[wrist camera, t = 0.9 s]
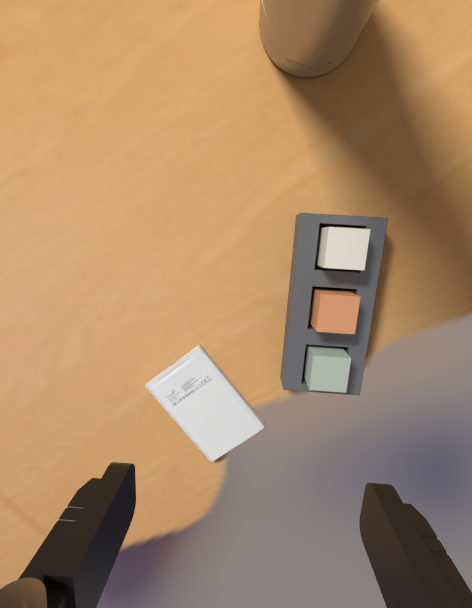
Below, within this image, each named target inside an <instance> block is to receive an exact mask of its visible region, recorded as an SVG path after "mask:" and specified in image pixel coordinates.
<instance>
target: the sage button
mask: <svg viewBox="0 0 472 608" xmlns="http://www.w3.org/2000/svg"><path fill="white" fill-rule="evenodd" d="M350 364H351V357H350V356H349V355H348V354H347V353H346V352H345V350H344V349H343V348H342V347H337V346H323V345H309V344H307V346H306V355H305V363H304V372H303V376H304V378H305V381H306V383H307V386H308V388H309V390H316V391H329V392H343V393H346V390H347V384H348V377H349V370H350Z"/></svg>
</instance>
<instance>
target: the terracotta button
mask: <svg viewBox="0 0 472 608" xmlns="http://www.w3.org/2000/svg"><path fill="white" fill-rule="evenodd" d="M359 303H360V296H358V295H356V294H354V293H352V292H350V291H348V290H332V289H317V288H313V294H312V302H311V311H310V320H309V322H310V324H311V325H312V326H313V328H314V329H315V331H316V332H328V333H343V334H355V330H356V324H357V317H358V310H359Z"/></svg>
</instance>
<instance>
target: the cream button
mask: <svg viewBox="0 0 472 608" xmlns="http://www.w3.org/2000/svg"><path fill="white" fill-rule="evenodd" d="M370 230H371V229H359V228H342V227H324V228H320V233H319V241H318V250H317V259H316V265H318V266H320V267H323V268H333V269H349V270H365V263H366V257H367V250H368V243H369V236H370Z"/></svg>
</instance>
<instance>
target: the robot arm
mask: <svg viewBox="0 0 472 608" xmlns="http://www.w3.org/2000/svg"><path fill="white" fill-rule="evenodd" d="M378 2H379V0H260V18H259V26H260V35H261V39H262V42H263V45H264V48H265V50H266V52H267V54H268V55H269V57H270V58H271V60H272V61H273V62H274V63H275V64H276V65H277V66H278V67H279V68H281V69H282V70H283V71H285V72H287V73H289V74H291V75H294V76H298V77H304V78H306V77H316V76H320V75H323V74H326V73H327V72H329V71H331V70H333V69H334V68H336V67H337V66H338V65H339V64H340V63H341V62H343V61H344V60H345V58H346V57H347V56H348V54H349V53H350V52H351V50H352V49H353V47H354V45H355V43H356V41H357V39H358V38H359V36H360V34H361V32H362V30H363V29H364V27H365V25H366V23H367V21H368V20H369V18H370V16H371V14H372V13H373V11H374V9H375V7H376V5H377V3H378ZM135 504H136V486H135V466H134V464H129V463H116V462H112V463H111V464H110V465H109V466H108V468H107V470H106V471H105V473H104V475H103V476H102V478H101V479H98V478H92V479H91V480H90V481H88V482H87V483H86V484H85V485H84V486H82V487H81V488H80V489H79V490H78V491H77V492H76V494H75V495H74V497H73V498H72V500H71V501H70V503H69V504H68V507H67V508H66V509H65V510H64V512H63V513H62V515H61V516H60V518H59V521H57V522H56V524H55V525H54V527H53V528H52V530H51V531H50V533H49V534H48V536H47V537H46V539H45V540H44V542H43V543H42V545H41V546H40V548H39V549H38V551H37V552H36V554H35V555H34V557H33V558H32V560H31V561H30V563H29V564H28V566H27V567H26V569H25V570H24V572H23V573H22V575H21V576H20V577H19V579H18V580H16V581H13V582H11V583H9V584H7V585H6V586H4V587H3V588H1V589H0V608H96V607H97V604H98V602H99V599H100V597H101V594H102V592H103V589H104V587H105V585H106V582H107V580H108V577H109V575H110V572H111V570H112V568H113V565H114V562H115V560H116V558H117V555H118V553H119V550H120V548H121V546H122V543H123V541H124V538H125V536H126V533H127V531H128V528H129V526H130V523H131V521H132V518H133V515H134V510H135ZM360 532H361V537H362V541H363V544H364V546H365V549H366V552H367V555H368V557H369V560H370V563H371V565H372V568H373V571H374V574H375V576H376V579H377V582H378V585H379V587H380V590H381V593H382V595H383V598H384V601H385V604H386V606H387V608H472V593H471V591H470V589H469V588H468V586H467V584H466V583H465V581H464V580H463V578H462V576H461V575H460V573H459V572H458V570H457V568H456V567H455V565H454V563H453V562H452V560H451V558H450V557H449V556H448V555H447V554H446V550H445V549H444V547H443V546H442V544H441V542H440V541H439V540H437V536H436V534H435V533H434V531H433V529H432V528H431V526H430V525H429V523H428V521H427V520H426V519H425V518H424V517H423V516H422V515H421V514H420V513H419V512H418V511H417V510H416V509H415V508H414V507H413V506H412V505H411V504H403V502H402V500H401V499H400V497H399V495H398V494H397V492H396V490H395V488H394V487H393V486H392V485H390V484H376V483H367V484H366V487H365V492H364V498H363V503H362V509H361V515H360Z"/></svg>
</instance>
